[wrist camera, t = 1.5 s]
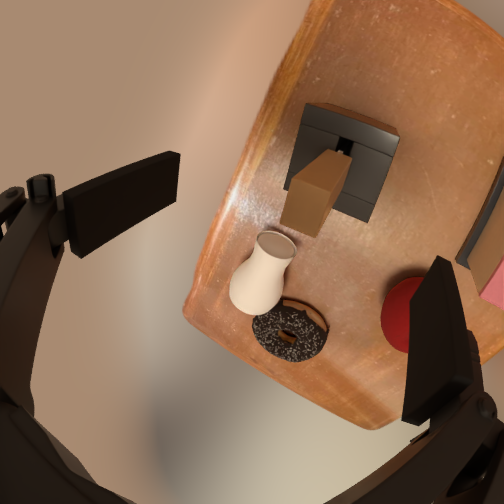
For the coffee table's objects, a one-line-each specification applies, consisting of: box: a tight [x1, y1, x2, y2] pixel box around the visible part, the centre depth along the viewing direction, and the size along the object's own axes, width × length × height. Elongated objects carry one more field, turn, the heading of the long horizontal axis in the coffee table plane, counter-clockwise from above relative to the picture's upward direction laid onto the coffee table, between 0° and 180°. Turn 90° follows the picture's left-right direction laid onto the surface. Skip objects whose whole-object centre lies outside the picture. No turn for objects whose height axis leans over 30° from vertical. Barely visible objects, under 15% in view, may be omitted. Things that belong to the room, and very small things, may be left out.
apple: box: [381, 277, 424, 353], centre depth 30 cm, size 9×9×10 cm
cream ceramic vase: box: [229, 231, 297, 315], centre depth 38 cm, size 7×7×10 cm
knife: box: [280, 140, 354, 238], centre depth 21 cm, size 3×2×19 cm, turn 168°
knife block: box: [283, 103, 400, 223], centre depth 26 cm, size 8×8×9 cm
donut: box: [252, 300, 329, 362], centre depth 44 cm, size 11×12×4 cm
